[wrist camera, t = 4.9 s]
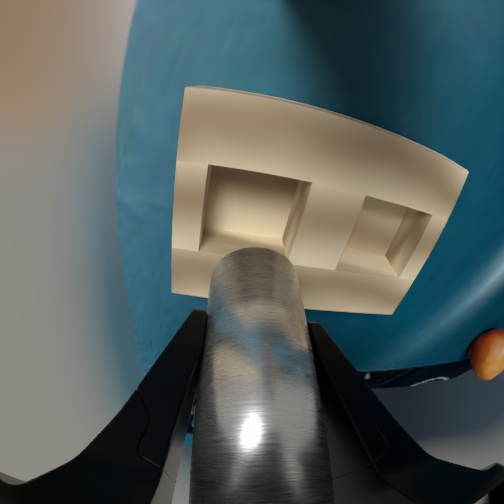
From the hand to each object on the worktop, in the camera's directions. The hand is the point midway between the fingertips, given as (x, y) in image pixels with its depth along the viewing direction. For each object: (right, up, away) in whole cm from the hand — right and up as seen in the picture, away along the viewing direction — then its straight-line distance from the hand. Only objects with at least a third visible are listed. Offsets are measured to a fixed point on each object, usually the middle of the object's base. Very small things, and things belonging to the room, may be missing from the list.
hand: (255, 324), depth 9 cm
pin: (0, +1, +2) cm, 2 cm away
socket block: (+4, +5, +8) cm, 10 cm away
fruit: (+36, -11, +21) cm, 43 cm away
